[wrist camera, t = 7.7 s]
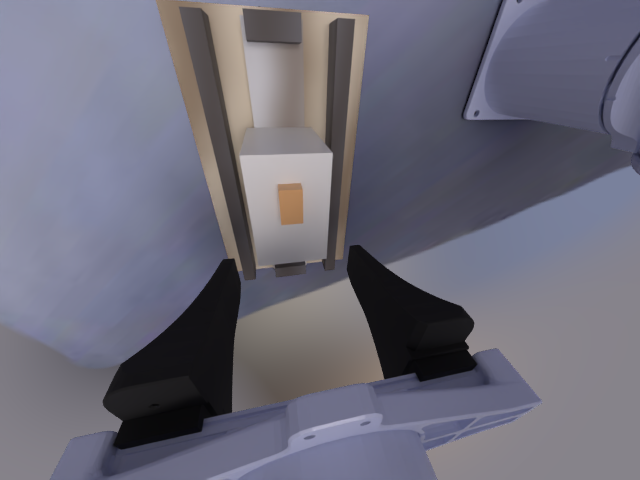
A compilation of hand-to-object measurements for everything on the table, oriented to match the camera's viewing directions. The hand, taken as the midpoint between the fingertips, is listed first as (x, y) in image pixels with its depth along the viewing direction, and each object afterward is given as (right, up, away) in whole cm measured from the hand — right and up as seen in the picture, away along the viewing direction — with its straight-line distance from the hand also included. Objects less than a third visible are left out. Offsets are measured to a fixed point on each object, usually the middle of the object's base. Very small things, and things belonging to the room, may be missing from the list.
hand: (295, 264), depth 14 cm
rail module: (-1, +7, +4) cm, 8 cm away
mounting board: (-2, +7, +6) cm, 10 cm away
